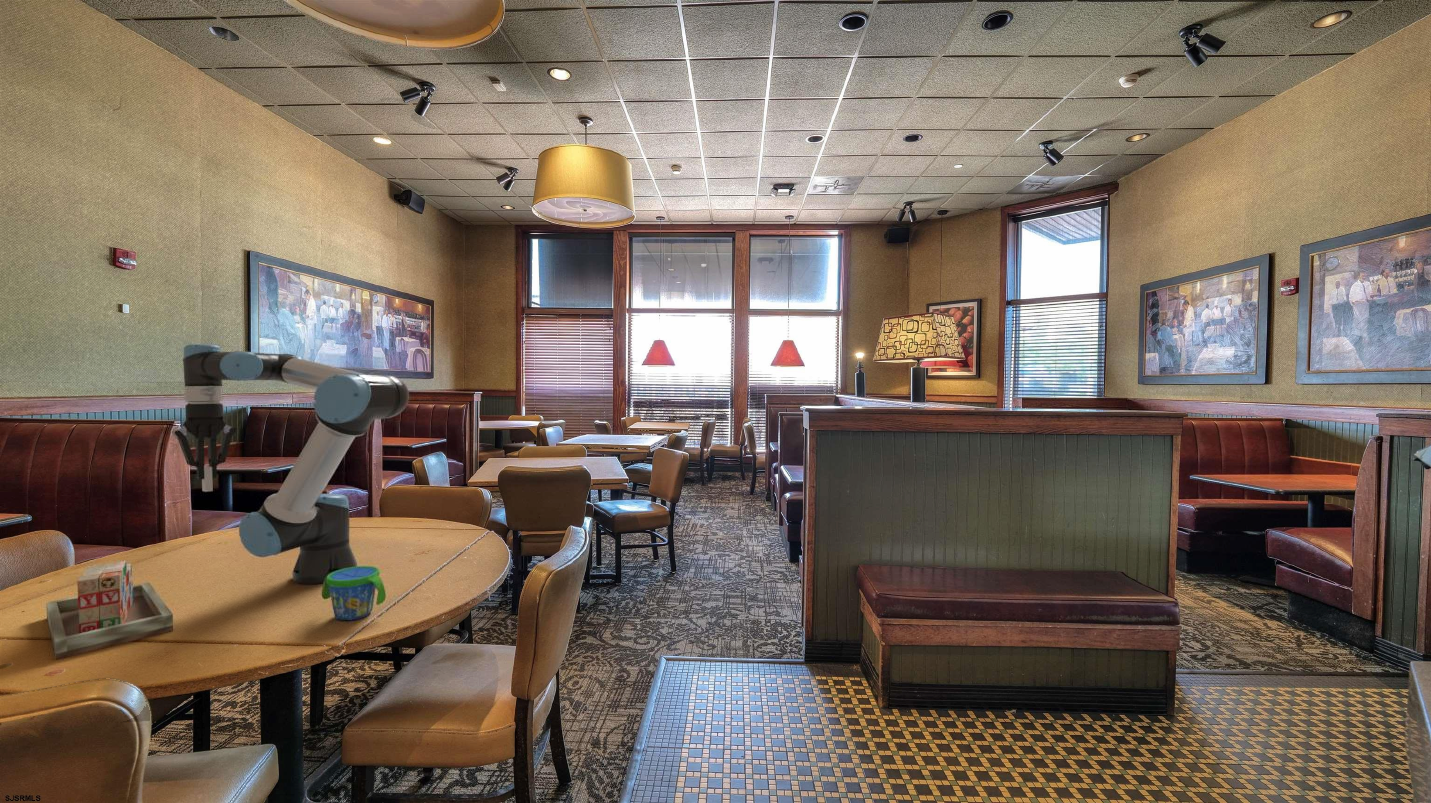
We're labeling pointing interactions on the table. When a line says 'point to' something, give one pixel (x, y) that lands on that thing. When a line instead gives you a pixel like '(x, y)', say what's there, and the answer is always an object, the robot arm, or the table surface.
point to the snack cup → (353, 591)
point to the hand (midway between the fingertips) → (207, 490)
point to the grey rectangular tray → (140, 623)
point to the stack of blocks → (104, 595)
